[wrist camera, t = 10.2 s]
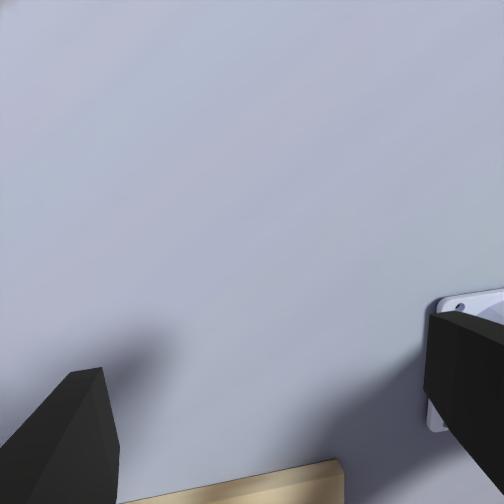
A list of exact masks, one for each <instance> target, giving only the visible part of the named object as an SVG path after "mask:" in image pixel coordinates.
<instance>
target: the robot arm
mask: <svg viewBox="0 0 504 504" xmlns="http://www.w3.org/2000/svg"><path fill="white" fill-rule="evenodd" d="M459 303H460V305H459V307H458V308H456V309H455V307H456V306H457V305H458V304H459ZM423 389H424V391H425V393H426V394H427V396H428V398H429V401H428V412H427V426H428V427H429V429H430V430H431V431H432V432H442V431H447V430H450V431H451V432H452V434H453V435H454V436H455V437H456V439H457V440H458V441H459V442H460V444H461V445H462V446H463V447H464V448H465V450H466V451H467V452H468V453H469V455H470V456H471V457H472V458H473V459H474V461H475V462H476V463H477V464H478V465H479V467H480V468H481V469H482V470H483V471H484V472H485V474H486V475H487V476H488V477H489V478H490V480H491V481H492V482H493V483H494V484H495V486H496V487H497V488H498V489H499V490H500V492H501V493H502V494H503V495H504V288H502V289H496V290H489V291H483V292H476V293H470V294H464V295H457V296H451V297H446V298H443V299H442V300H441V301H440V302H439V303H438V306H437V312H436V313H435V314H430V317H429V329H428V341H427V353H426V364H425V376H424V388H423ZM119 453H120V445H119V441H118V436H117V432H116V427H115V423H114V418H113V414H112V409H111V405H110V400H109V396H108V392H107V387H106V383H105V378H104V374H103V369H102V367H99V368H93V369H87V370H81V371H75V372H70V373H69V374H68V375H67V376H66V377H65V378H64V380H63V381H62V382H61V383H60V384H59V385H58V386H57V387H56V388H55V389H54V390H53V392H52V393H51V394H50V395H49V396H48V397H47V398H46V399H45V400H44V402H43V403H42V404H41V405H40V406H39V407H38V408H37V409H36V410H35V412H34V413H33V414H32V415H31V416H30V417H29V418H28V419H27V420H26V421H25V422H24V423H23V424H22V426H21V427H20V428H19V429H18V430H17V431H16V432H15V433H14V434H13V435H12V436H11V437H10V438H9V439H8V441H7V442H6V443H5V444H4V445H3V446H2V447H1V448H0V504H116V499H117V488H118V473H119Z"/></svg>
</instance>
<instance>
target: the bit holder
mask: <svg viewBox="0 0 504 504" xmlns="http://www.w3.org/2000/svg"><path fill="white" fill-rule="evenodd" d="M123 504H344V472H343V470H342V468H341V466H340V464H339V461H338V459H334V460H329V461H325V462H320V463H315V464H310V465H305V466H301V467H296V468H291V469H286V470H282V471H277V472H272V473H267V474H262V475H258V476H253V477H248V478H243V479H238V480H234V481H229V482H224V483H219V484H214V485H210V486H205V487H200V488H195V489H191V490H186V491H181V492H176V493H171V494H167V495H162V496H157V497H152V498H147V499H143V500H138V501H133V502H128V503H123Z"/></svg>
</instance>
